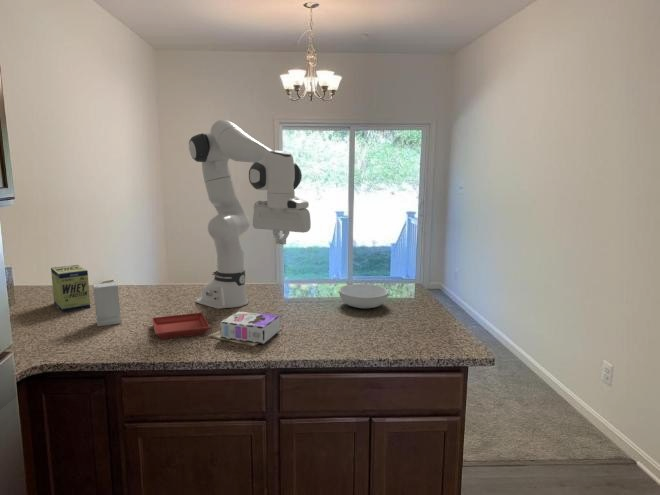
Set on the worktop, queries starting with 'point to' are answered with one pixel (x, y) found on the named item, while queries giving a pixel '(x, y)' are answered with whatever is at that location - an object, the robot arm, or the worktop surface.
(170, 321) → the plant saucer
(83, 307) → the protein box
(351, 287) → the serving bowl
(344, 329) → the worktop surface
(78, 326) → the worktop surface
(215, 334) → the birch board
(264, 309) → the worktop surface
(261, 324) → the candy box
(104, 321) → the skincare box
